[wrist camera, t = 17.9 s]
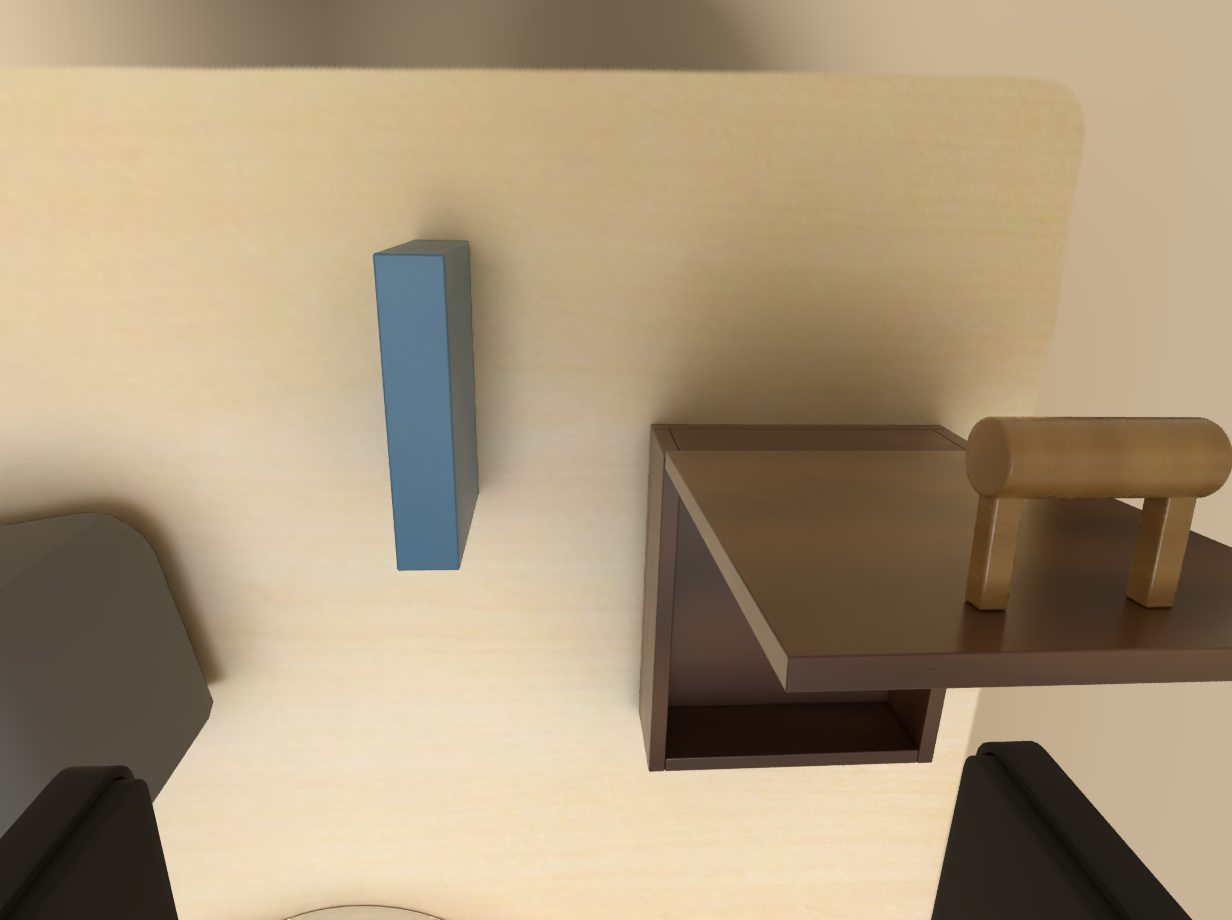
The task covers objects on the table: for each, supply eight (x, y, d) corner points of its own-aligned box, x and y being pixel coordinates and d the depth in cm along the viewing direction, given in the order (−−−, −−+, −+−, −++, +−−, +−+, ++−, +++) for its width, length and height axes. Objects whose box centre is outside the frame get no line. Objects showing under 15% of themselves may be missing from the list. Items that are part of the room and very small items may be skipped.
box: (892, 703, 43) (932, 762, 39) (638, 710, 42) (648, 772, 38) (941, 424, 38) (992, 456, 34) (650, 424, 37) (664, 456, 32)
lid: (1451, 676, 16) (1526, 440, 15) (785, 693, 15) (805, 439, 14) (997, 468, 33) (1014, 348, 32) (664, 469, 32) (669, 344, 31)
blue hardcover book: (478, 494, 37) (459, 570, 30) (428, 494, 37) (397, 571, 30) (469, 240, 33) (444, 254, 26) (413, 239, 33) (372, 253, 26)
